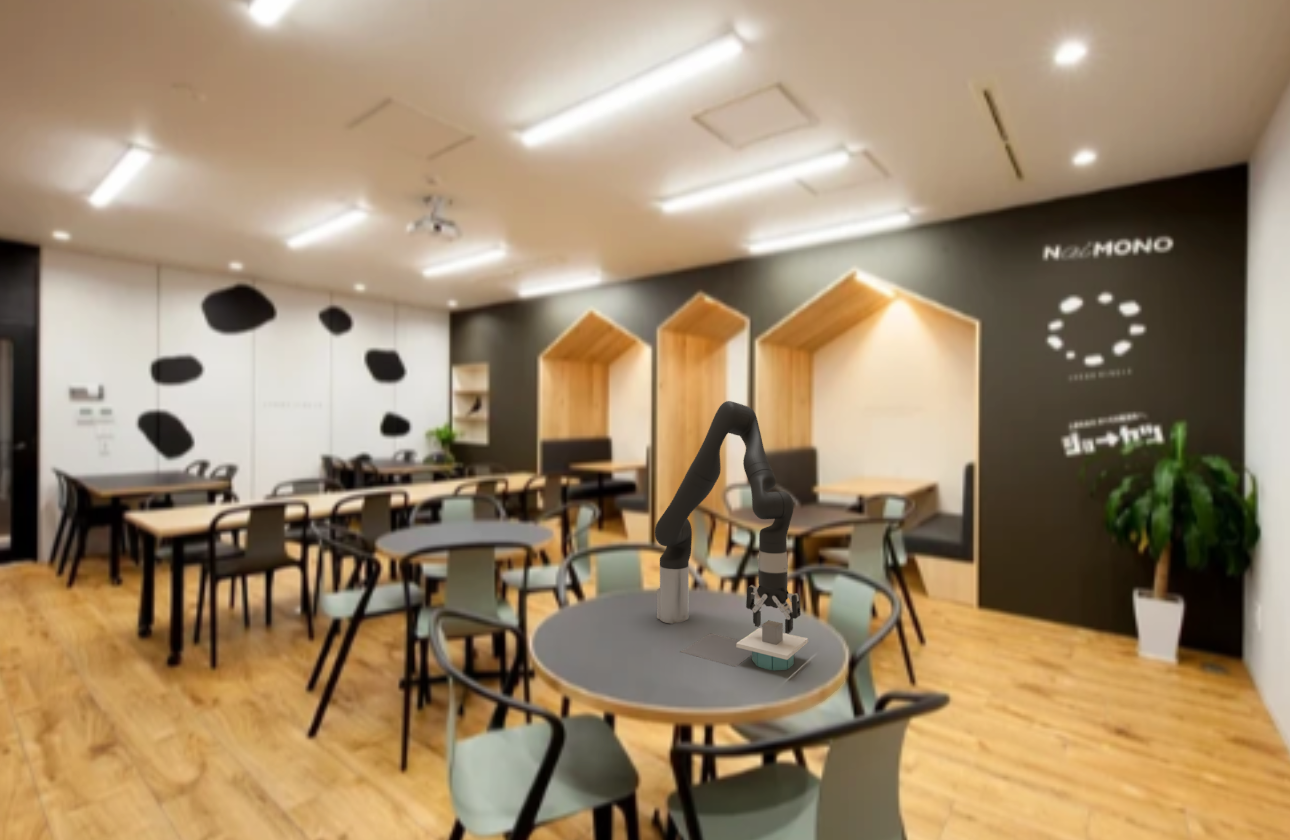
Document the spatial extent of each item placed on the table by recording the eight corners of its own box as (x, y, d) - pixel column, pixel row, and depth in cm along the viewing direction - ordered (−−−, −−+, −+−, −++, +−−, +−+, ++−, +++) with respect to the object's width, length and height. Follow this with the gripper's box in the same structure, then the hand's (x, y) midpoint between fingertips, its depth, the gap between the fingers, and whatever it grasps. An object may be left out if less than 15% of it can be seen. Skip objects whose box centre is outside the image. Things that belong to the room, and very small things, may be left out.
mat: (679, 653, 167) (679, 651, 167) (710, 634, 181) (710, 633, 181) (735, 668, 157) (735, 666, 157) (763, 647, 171) (763, 646, 171)
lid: (736, 647, 159) (736, 626, 158) (759, 631, 170) (759, 611, 170) (787, 659, 150) (787, 637, 150) (807, 642, 162) (807, 621, 162)
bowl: (746, 665, 159) (746, 646, 159) (763, 653, 167) (763, 634, 167) (783, 675, 153) (783, 655, 153) (798, 661, 161) (798, 643, 161)
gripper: (741, 566, 161) (741, 627, 161) (793, 575, 153) (793, 639, 153) (754, 561, 167) (754, 619, 167) (804, 568, 159) (804, 630, 159)
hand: (772, 629), depth 160 cm, fingers open, 8 cm apart
